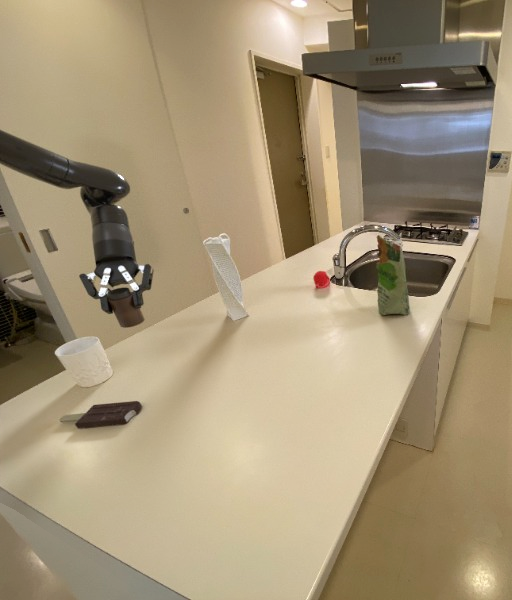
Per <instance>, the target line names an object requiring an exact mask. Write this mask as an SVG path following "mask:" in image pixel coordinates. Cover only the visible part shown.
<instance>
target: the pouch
mask: <svg viewBox="0 0 512 600" xmlns="http://www.w3.org/2000/svg"><path fill="white" fill-rule="evenodd" d="M376 239H377V240H376V241H377V250H378V252H377V254H376V257H377V258H378V260H379V261H377V262H376V269H377V272H378V273H377V281H378V283H377V289H376V293H377V307H378V309H377V310H378V314H380V316H386V315H395V314H397V315H398V314H399V315H400V314H401V315H404V316H408V314H409V313H410V311H411V308H410V297H409V291H408V281H407V276H406V275H407V274H406V262H405V258H404V253H403V248H402V247H401V245H400V244H398V243H394V242H391V241H390V240H387V239H386V238H383V237H382V236H381V235H379V234H378V235H376Z"/></svg>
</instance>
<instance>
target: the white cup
mask: <svg viewBox="0 0 512 600" xmlns="http://www.w3.org/2000/svg"><path fill="white" fill-rule="evenodd" d="M54 355H55V356H56V357H57V359H58V361H59V362H60V363H61V365H62V366H63V367H64V369H65V370H66V371H67V373H68V374H69V376H70V377H71V378H72V379H73V380H74V381H75V383H76V384H77V386H79V387H81V388H91V387H95V386H98V385H100V384H103V383H104V382H106V381H108V380H109V379H110V378H111V377H112V376H113V374H114V370H113V368H112V366H111V362H110V361H109V358H108V355H107V353H106V351H105V349H104V346H103V345H102V342H101V340H100V338H99V337H97V336H93V335H92V336H90V335H89V336H84V337H79V338H76V339H73V340H70V341H68V342H66V343H63V344H62V345H60V346H58V347H57V348H56V349H55V350H54Z"/></svg>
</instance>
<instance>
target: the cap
mask: <svg viewBox="0 0 512 600" xmlns="http://www.w3.org/2000/svg"><path fill="white" fill-rule="evenodd" d="M312 279H313V283H314V285H315V288H316V289H319V290H323V289H326V288H328V287H329V286H330V285H331V279H330V277H329V276H328V274H327V272H326V271H324V270H319V271H316V272H315V273H314V274H313V278H312Z"/></svg>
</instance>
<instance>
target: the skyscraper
mask: <svg viewBox="0 0 512 600" xmlns="http://www.w3.org/2000/svg"><path fill="white" fill-rule="evenodd" d="M222 236H226V237H227V238H223V237H222ZM202 244H203V247H204V248H205V250H206V252H207V254H208V256H209V258H210V260H211V269H212V274H213V278H214V281H215V284H216V287H217V290H218V292H219V296H220V298H221V299H222V302H223V304H224V306H225V308H226V316H227V317H229V318H230V319H231V320H232V322H235V321H237V320H240V319H242V318H245V317H249V316H250V314H249V313H248V311H247V310H246V308H245V307H244V296H243V294H244V293H243V285H242V280H241V276H240V272H239V270H238V267H237V265H236V262H235V261H234V259H233V257H232V256H231V238H230V236H229V234H226V233H225V232H223V233H221V234H219V235H218V236H215V237H212V236H210V237H207V238H205V239H204V240H203V242H202Z"/></svg>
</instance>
